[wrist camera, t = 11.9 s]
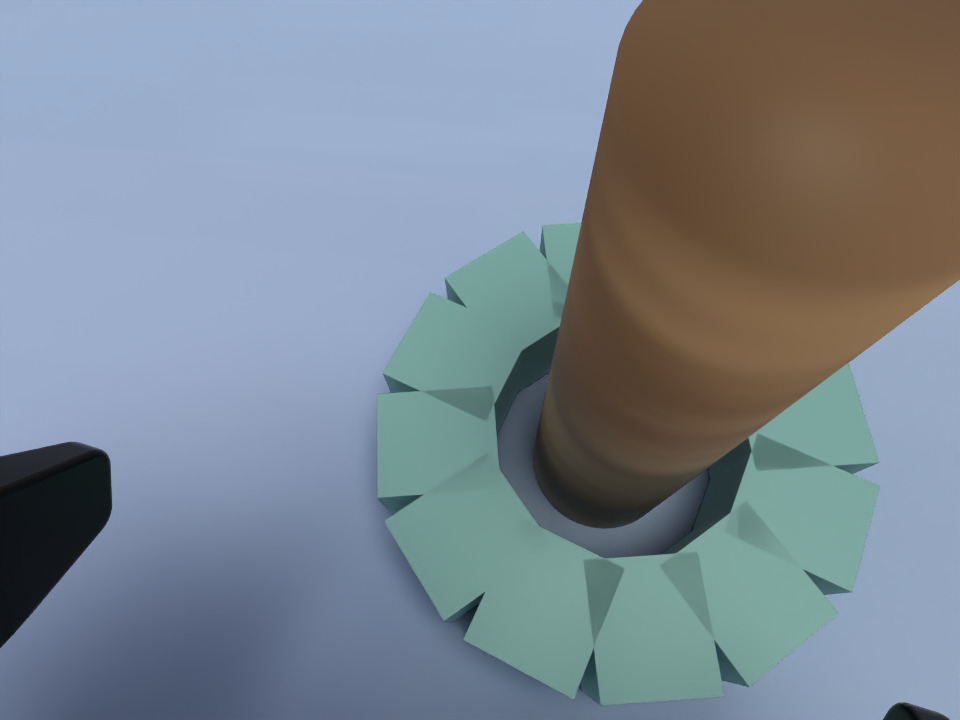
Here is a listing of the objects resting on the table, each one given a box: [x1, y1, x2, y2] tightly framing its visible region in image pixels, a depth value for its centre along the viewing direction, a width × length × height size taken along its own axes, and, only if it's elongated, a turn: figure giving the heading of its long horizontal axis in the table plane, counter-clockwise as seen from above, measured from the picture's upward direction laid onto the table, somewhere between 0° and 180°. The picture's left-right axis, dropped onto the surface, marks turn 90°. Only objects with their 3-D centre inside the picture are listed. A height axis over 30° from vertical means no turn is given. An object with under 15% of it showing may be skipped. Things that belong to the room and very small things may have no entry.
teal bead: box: [377, 223, 880, 706], centre depth 16 cm, size 11×11×3 cm
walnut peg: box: [533, 0, 960, 528], centre depth 11 cm, size 4×4×13 cm
